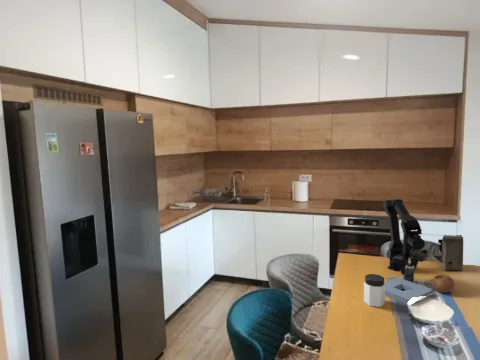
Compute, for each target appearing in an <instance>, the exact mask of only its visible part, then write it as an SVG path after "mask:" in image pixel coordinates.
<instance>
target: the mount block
mask: <svg viewBox="0 0 480 360" xmlns="http://www.w3.org/2000/svg"><path fill="white" fill-rule="evenodd" d="M384 284H385V297H386V296H387V297H388V298H390V297H391V299H393V300H395V299H396V301H398V302H400V301H401V303H402V302H403V304H405V303H406V304H405V305H407V302H408V301H409V300H410V299H411V298H412V297H419V296H428V295H430V294H432V293H433V292H434V289H433V288H430V287H427V286H424V285H421V284H418V283H415V282H414V283H413V282H410V281H407V280H404V279H403V278H401V277H399V276H398V277H395V278H392V279H390V280H387V281H384ZM400 288H403V289H406V290H409V291H406V290H403V289H400Z"/></svg>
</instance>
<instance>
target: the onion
mask: <svg viewBox="0 0 480 360" xmlns="http://www.w3.org/2000/svg"><path fill="white" fill-rule="evenodd" d="M431 284H432V287H433V289H435V291H437V292H439V293H441V294H446V293H449V292H451V291H452V290H453V289H454V287H455V282H454V279H453V278H452V276H451V275H447V274H444V273H441V274H437V275H435V276H433V278H432V280H431Z"/></svg>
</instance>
